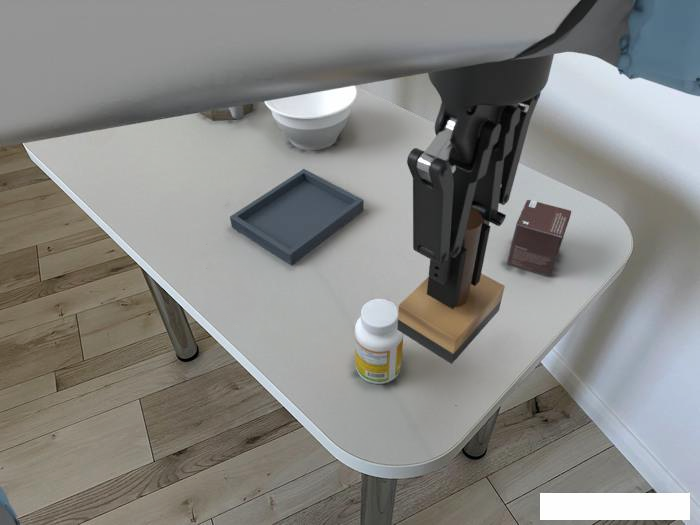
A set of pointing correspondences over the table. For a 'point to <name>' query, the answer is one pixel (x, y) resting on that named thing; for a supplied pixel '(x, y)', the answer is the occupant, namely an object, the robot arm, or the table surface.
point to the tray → (297, 215)
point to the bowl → (313, 116)
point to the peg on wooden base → (465, 319)
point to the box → (538, 237)
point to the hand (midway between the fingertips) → (453, 287)
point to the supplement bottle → (378, 342)
